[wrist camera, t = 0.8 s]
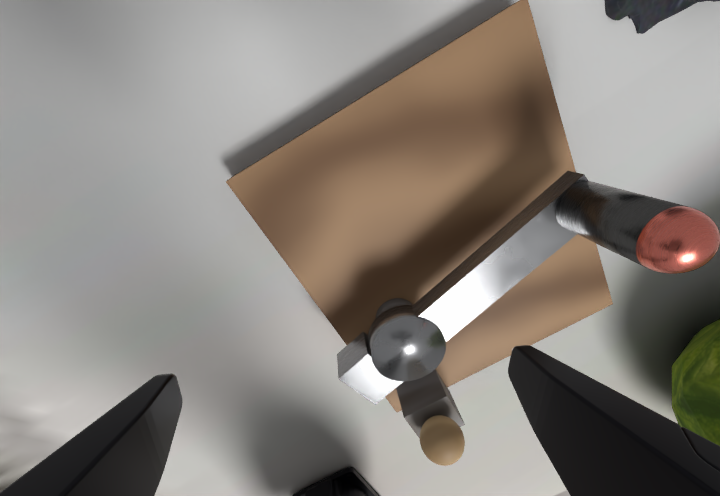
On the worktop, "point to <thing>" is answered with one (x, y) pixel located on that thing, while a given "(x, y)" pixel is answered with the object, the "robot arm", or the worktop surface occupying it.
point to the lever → (524, 272)
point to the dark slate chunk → (646, 10)
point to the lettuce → (699, 384)
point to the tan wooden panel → (431, 207)
